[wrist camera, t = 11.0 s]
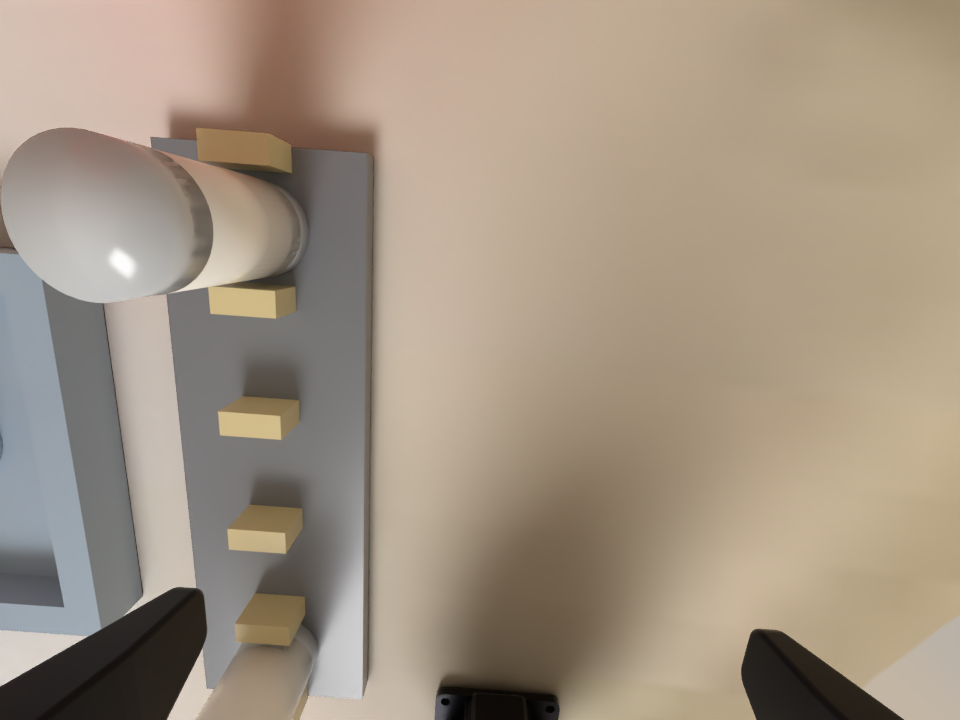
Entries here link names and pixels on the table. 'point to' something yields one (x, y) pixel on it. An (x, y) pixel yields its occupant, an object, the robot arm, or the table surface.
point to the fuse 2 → (263, 681)
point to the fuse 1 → (142, 219)
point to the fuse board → (283, 421)
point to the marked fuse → (0, 448)
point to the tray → (60, 464)
